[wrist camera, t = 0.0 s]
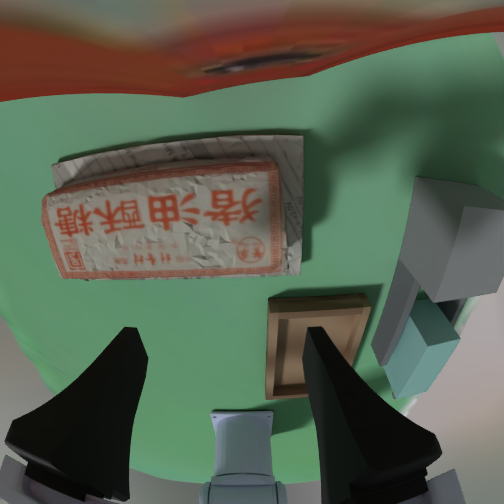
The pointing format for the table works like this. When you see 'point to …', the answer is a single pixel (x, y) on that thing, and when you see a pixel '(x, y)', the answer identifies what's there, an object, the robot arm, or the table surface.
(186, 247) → the packaged product
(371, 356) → the table surface
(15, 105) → the table surface
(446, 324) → the tall teal block
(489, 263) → the bay
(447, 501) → the robot arm
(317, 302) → the tray
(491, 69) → the table surface
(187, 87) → the file binder
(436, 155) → the table surface
